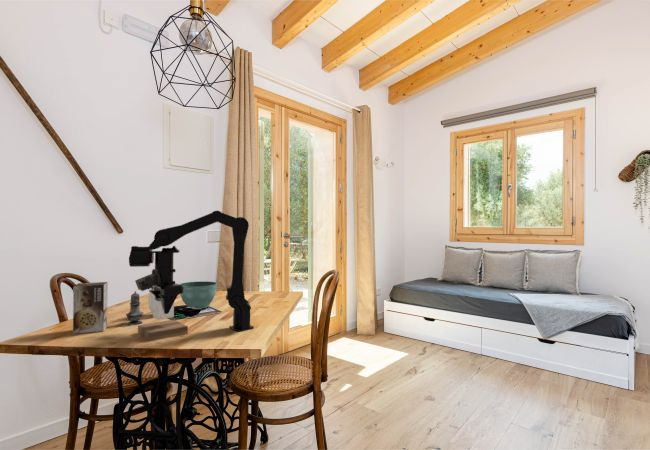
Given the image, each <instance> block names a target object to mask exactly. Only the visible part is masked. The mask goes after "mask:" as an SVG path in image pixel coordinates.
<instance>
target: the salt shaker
mask: <svg viewBox="0 0 650 450" xmlns="http://www.w3.org/2000/svg"><path fill="white" fill-rule="evenodd" d="M129 305H130V307H129V308H130V309H129V312H128V313H126V314H125V316H126V319H127V320H128V322H126V325H127V326H138V325H143V321H142V320H141V319H142V318H143V315H144V312H143V311H141V310H140V305H141V302H140V294H139V293H137V290H135V291H134V293H132V294H131V296H130V303H129Z"/></svg>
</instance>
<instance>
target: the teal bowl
mask: <svg viewBox="0 0 650 450" xmlns="http://www.w3.org/2000/svg"><path fill="white" fill-rule="evenodd" d="M178 284H179V285H181V286H183V287H184V293H183V294H179V295H180V297H181V299H182V302H183V303H184V304H185V305H186V307H187V306H190V307H195V308H205V309H208V308H209V307H210V305H211V303H212V302H213V300H214V298H215V296H216V293H217V287H218V283H217V282H215V281H203V280H202V281H188V282H181V283H178ZM207 307H208V308H207Z"/></svg>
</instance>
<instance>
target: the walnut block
mask: <svg viewBox="0 0 650 450" xmlns="http://www.w3.org/2000/svg"><path fill="white" fill-rule="evenodd" d="M188 328H189V326H188V325H186V324H184V323H182V322H180V321H178V320H176V319H170V320H164V321H158V322H152V323H146V324H145V323H144V324H138V325H137V334H138V335H140V336H142V337H143V338H144V339H146V340H147V341H149V342H153V341H154V342H155V341H157V340H158V341H159V340H163V339H164V340H165V339H169V338H174V337H179V336H183V335H188V330H189V329H188Z"/></svg>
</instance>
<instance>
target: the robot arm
mask: <svg viewBox="0 0 650 450" xmlns="http://www.w3.org/2000/svg"><path fill="white" fill-rule="evenodd" d="M215 223H218V224H222V225H224V226H227V227H229V228H231V232H232V240H233V252H232V270H231V271H232V273H231V274H232V275H231V283H230V285H226V291H227V292H226V295H225V300H226V301H228V302H227V303H228V306H229V307H230V308H231V309H233V312H232V325H229V327H228V328H230V329H231V330H234V331H237V332H241V331H245V330H250V329H254V328H255V326H253V325H251V309H252V306H251V304H250V302H249V301H248V300H247V299H246V297H245V289H244V283H243V282H244V281H243V280H244V279H243V276H244V259H245V258H244V254H245V242H246V238H247V235H248V231H249V226H250V224H249V221H248V220H247V218H245V217H242V216H238V217H235V216H231V215H230V214H226V213H225V212H224V213H223V212H221V211H220V210H214V211H212V212H210V213H208V214H205V215H203V216H201V217H198V218H195V219H194V220H193V219H192V220H191V221H188V222H186V223H183V224H181V225H176V226H170V227H167V228H161V229H159V230H158V231H156V232H155V234H154V237H153V241H152V242H151V243H150V244H149V246H138V245H133V246H131V247H130V249H131V250H130V252H129V256H128V264H129V267H132V268H133V267H137V268H139V267H141V268H142V267H144V268H145V267H150V266H151V264H154V268H153V269H152V270H151V274H148V275H145V276H143V277H141V278H137V279H136V280H134V281H135V285H136V287H137V289H138V290H139V291H140V292H143V291H146V290H148V291H149V292H151V293H152V294H153V295H154V296H155V299H158V298H162V299H163V307H164V313H165V314H168V313H169V311H170V309H171V307H172V305H173V303H174V304H175V302H176V299H177V298H178V296H179V295H180V294H183V293H184V287H183V286H181V285H179V284H180V283H176V281H175V280H174V273H176V268H174V254H177V253H180V252H181V251H180V249H178V248H177V247H176V245H173V243H175V242H177V241H178V240H181V238H183V237H185V236H186V235H188V234H192V233H194V232H196V231H199V230H200V229H203V228H206V227H208V226H211V225H214V224H215ZM170 245H173V246H172V247H168V246H170ZM160 248H161V250H157V249H160ZM150 289H151V290H150ZM149 292H148V293H149Z"/></svg>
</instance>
